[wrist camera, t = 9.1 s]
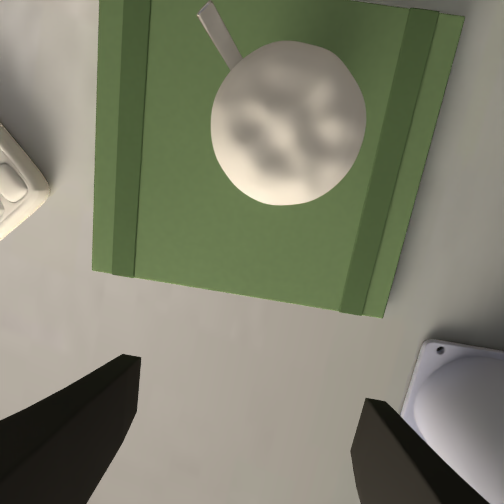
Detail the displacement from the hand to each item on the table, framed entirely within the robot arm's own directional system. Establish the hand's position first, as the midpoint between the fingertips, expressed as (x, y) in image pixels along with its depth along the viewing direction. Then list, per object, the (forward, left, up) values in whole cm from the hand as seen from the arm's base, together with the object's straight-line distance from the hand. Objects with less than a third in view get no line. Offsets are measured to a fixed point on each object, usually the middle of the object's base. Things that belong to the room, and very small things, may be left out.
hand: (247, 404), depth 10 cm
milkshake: (0, -9, -10) cm, 13 cm away
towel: (+1, -8, -10) cm, 13 cm away
